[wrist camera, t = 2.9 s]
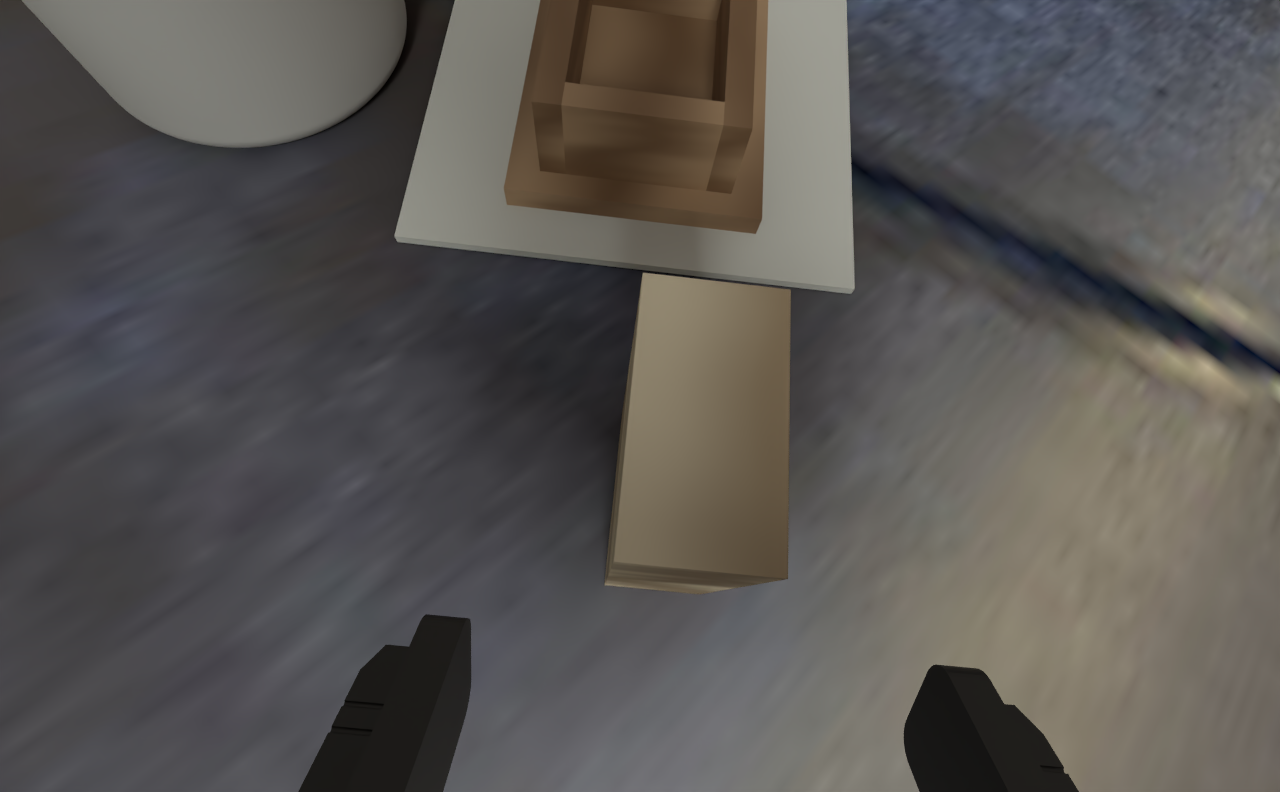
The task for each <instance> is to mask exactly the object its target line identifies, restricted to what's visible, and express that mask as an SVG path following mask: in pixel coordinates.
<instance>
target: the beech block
mask: <svg viewBox="0 0 1280 792" xmlns="http://www.w3.org/2000/svg"><path fill="white" fill-rule="evenodd" d="M790 308H791V290H789V289H780V288H771V287H763V286H754V285H745V284H737V283H728V282H719V281H711V280H702V279H693V278H685V277H676V276H668V275H659V274H650V273H643V275H642V282H641V289H640V296H639V302H638V309H637V316H636V323H635V330H634V336H633V343H632V350H631V357H630V364H629V370H628V377H627V384H626V391H625V398H624V404H623V411H622V420H621V429H620V439H619V449H618V458H617V468H616V478H615V487H614V497H613V507H612V516H611V526H610V536H609V545H608V555H607V564H606V574H605V584H604V585H609V586H619V587H629V588H640V589H650V590H660V591H671V592H681V593H691V594H704V593H710V592H716V591H721V590H727V589H733V588H738V587H744V586H750V585H755V584H761V583H767V582H773V581H778V580H784V579H788V511H789V409H790Z"/></svg>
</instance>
